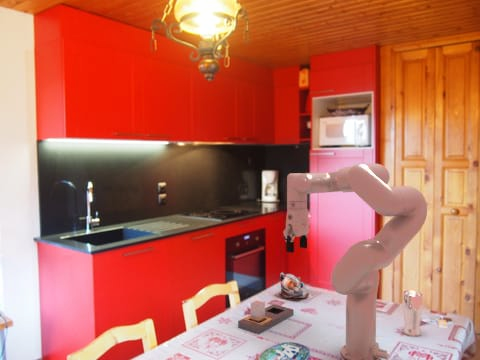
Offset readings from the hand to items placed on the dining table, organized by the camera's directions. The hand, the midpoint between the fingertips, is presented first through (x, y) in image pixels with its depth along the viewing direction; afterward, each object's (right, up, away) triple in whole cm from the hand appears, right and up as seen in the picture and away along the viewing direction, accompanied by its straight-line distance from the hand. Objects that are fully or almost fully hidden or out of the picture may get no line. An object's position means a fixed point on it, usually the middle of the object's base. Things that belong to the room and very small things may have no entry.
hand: (296, 250), depth 153 cm
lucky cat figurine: (+4, -29, +37) cm, 47 cm away
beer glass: (+42, -31, -4) cm, 52 cm away
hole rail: (-11, -30, +6) cm, 33 cm away
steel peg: (-15, -30, +2) cm, 33 cm away
